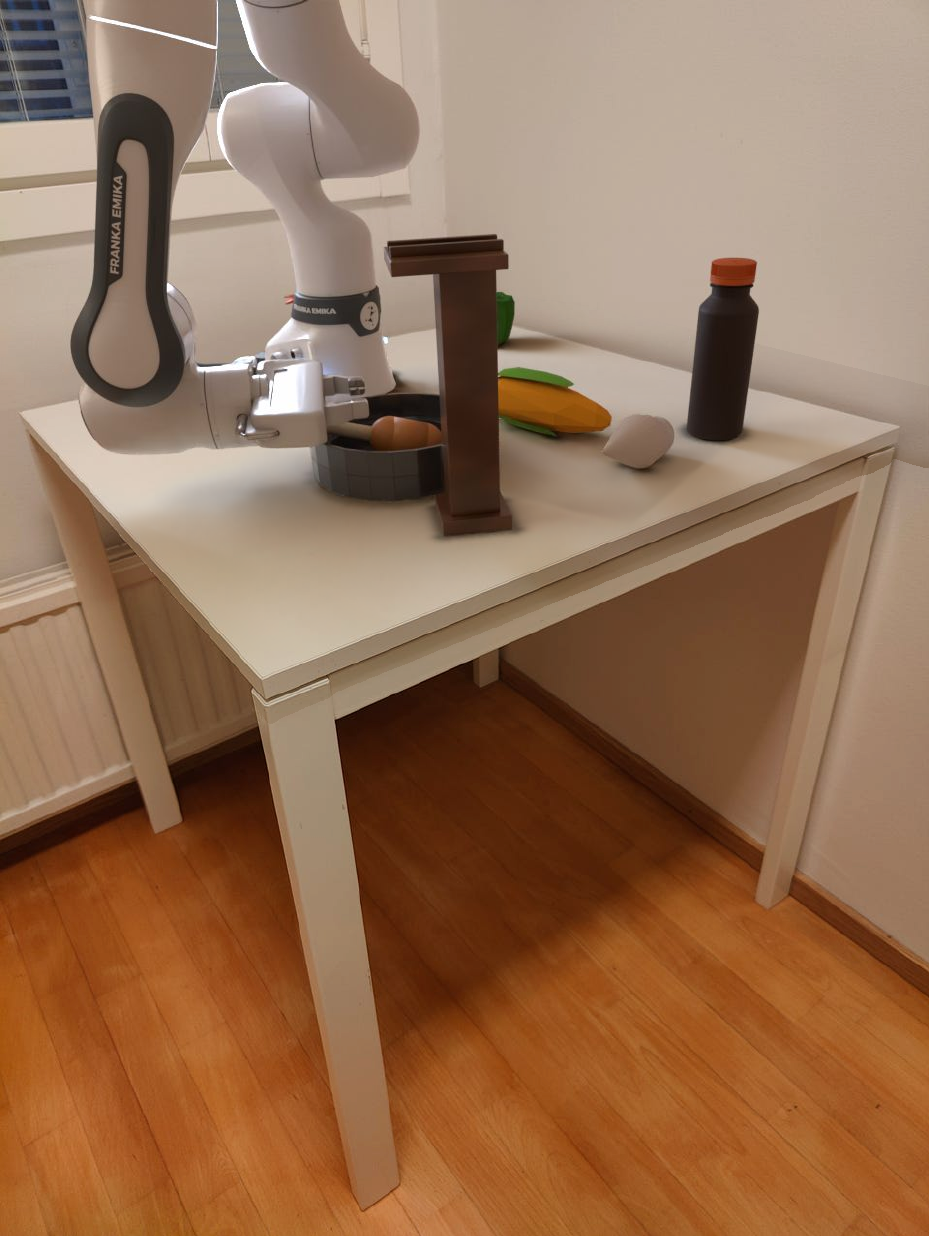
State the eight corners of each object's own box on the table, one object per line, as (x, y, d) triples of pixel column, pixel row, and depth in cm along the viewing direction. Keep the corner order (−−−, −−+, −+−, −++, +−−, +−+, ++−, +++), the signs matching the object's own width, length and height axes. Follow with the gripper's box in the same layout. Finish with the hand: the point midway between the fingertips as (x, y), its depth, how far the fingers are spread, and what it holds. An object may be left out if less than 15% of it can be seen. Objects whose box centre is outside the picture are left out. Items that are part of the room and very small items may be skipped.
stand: (412, 542, 85) (389, 251, 71) (404, 508, 92) (382, 237, 78) (513, 531, 86) (510, 243, 72) (498, 499, 93) (493, 230, 79)
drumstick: (308, 451, 96) (315, 409, 94) (309, 436, 100) (315, 396, 98) (441, 473, 100) (451, 434, 98) (436, 458, 104) (445, 420, 102)
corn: (507, 350, 114) (632, 377, 102) (510, 405, 119) (631, 438, 107) (468, 367, 110) (594, 397, 98) (473, 424, 115) (594, 459, 103)
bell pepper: (483, 335, 152) (481, 275, 147) (522, 340, 148) (522, 279, 143) (455, 346, 147) (452, 284, 141) (495, 352, 142) (494, 289, 137)
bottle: (754, 433, 107) (779, 261, 96) (713, 445, 104) (734, 269, 93) (714, 418, 112) (733, 253, 101) (674, 430, 109) (690, 261, 98)
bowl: (278, 480, 100) (270, 430, 97) (391, 428, 113) (387, 383, 110) (412, 520, 90) (408, 466, 86) (518, 458, 103) (518, 409, 100)
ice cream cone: (592, 491, 94) (654, 468, 105) (636, 465, 89) (696, 444, 100) (566, 441, 94) (631, 423, 105) (609, 413, 90) (672, 397, 101)
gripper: (227, 408, 84) (369, 396, 86) (241, 353, 102) (359, 344, 103) (239, 469, 88) (374, 456, 89) (250, 405, 105) (364, 396, 106)
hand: (366, 395), depth 96 cm, fingers open, 7 cm apart
